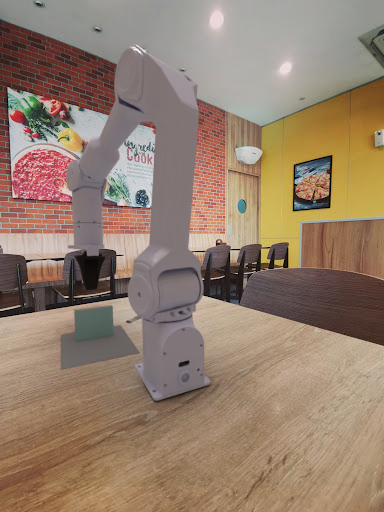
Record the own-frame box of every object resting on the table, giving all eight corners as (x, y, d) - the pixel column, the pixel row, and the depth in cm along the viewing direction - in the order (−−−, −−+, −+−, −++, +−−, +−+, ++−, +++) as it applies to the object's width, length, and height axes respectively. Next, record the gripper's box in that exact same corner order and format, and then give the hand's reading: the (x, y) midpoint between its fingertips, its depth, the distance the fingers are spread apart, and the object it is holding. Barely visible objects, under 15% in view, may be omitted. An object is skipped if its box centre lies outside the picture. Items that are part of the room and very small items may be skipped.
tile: (113, 335, 52) (112, 305, 51) (75, 341, 49) (74, 310, 48) (112, 333, 53) (111, 304, 52) (75, 339, 50) (74, 309, 49)
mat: (139, 355, 44) (139, 352, 44) (61, 372, 38) (60, 369, 38) (120, 326, 58) (120, 325, 58) (60, 336, 53) (60, 334, 52)
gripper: (66, 225, 58) (68, 284, 59) (67, 221, 45) (71, 296, 46) (98, 225, 62) (100, 281, 62) (109, 221, 49) (111, 292, 50)
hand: (90, 288), depth 55 cm, fingers open, 3 cm apart
